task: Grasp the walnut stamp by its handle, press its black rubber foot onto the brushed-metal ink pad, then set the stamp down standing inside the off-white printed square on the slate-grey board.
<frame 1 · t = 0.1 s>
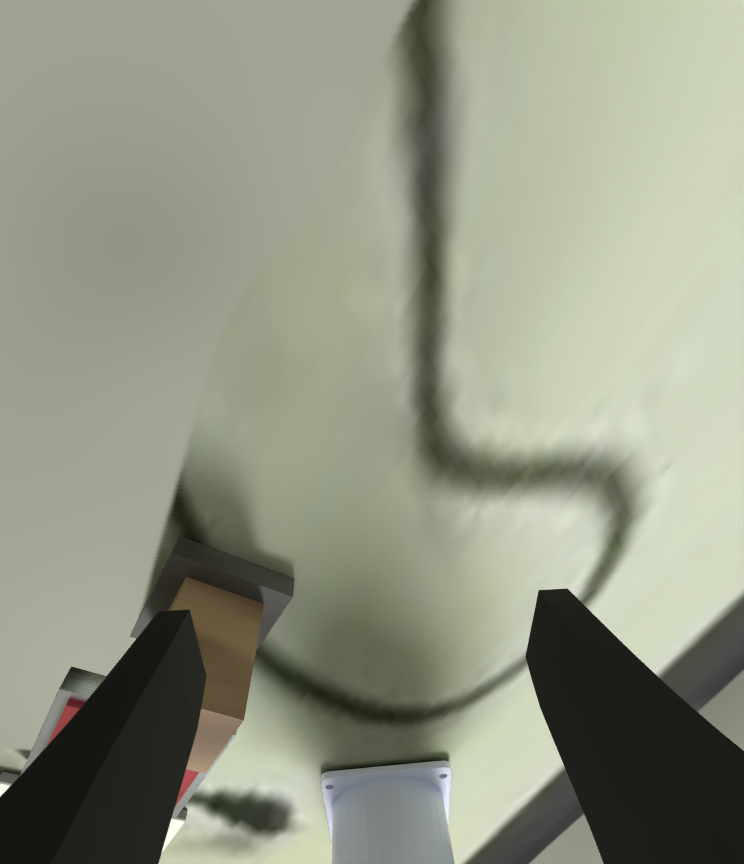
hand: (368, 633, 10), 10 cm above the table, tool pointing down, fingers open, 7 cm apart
marked square: (74, 834, 32), on the table
ink pad: (132, 737, 27), on the table
stamp: (216, 596, 23), on the table
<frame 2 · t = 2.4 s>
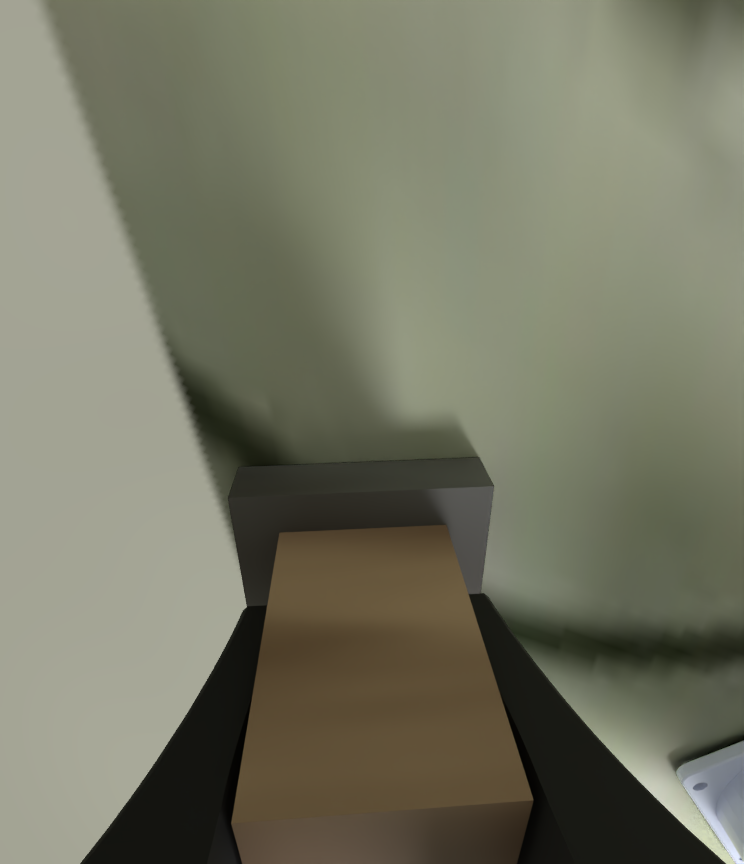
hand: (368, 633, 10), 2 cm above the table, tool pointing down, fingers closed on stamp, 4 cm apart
stamp: (362, 555, 12), on the table, touching gripper
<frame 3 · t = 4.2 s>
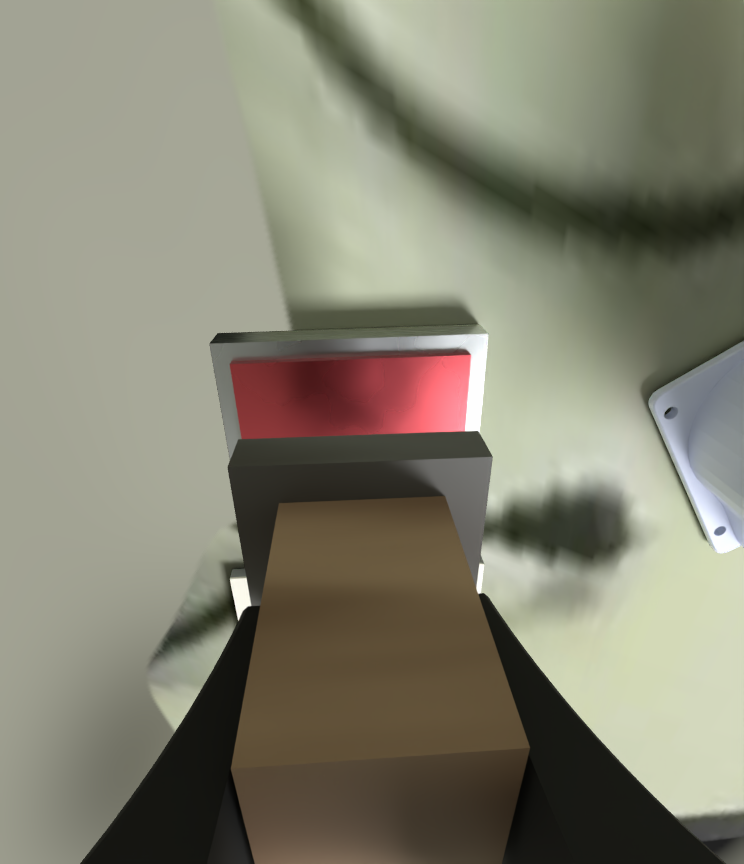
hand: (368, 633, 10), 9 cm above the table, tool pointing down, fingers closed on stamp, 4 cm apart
marked square: (361, 646, 24), on the table
ink pad: (354, 443, 19), on the table
stamp: (361, 530, 12), point 7 cm above the table, touching gripper
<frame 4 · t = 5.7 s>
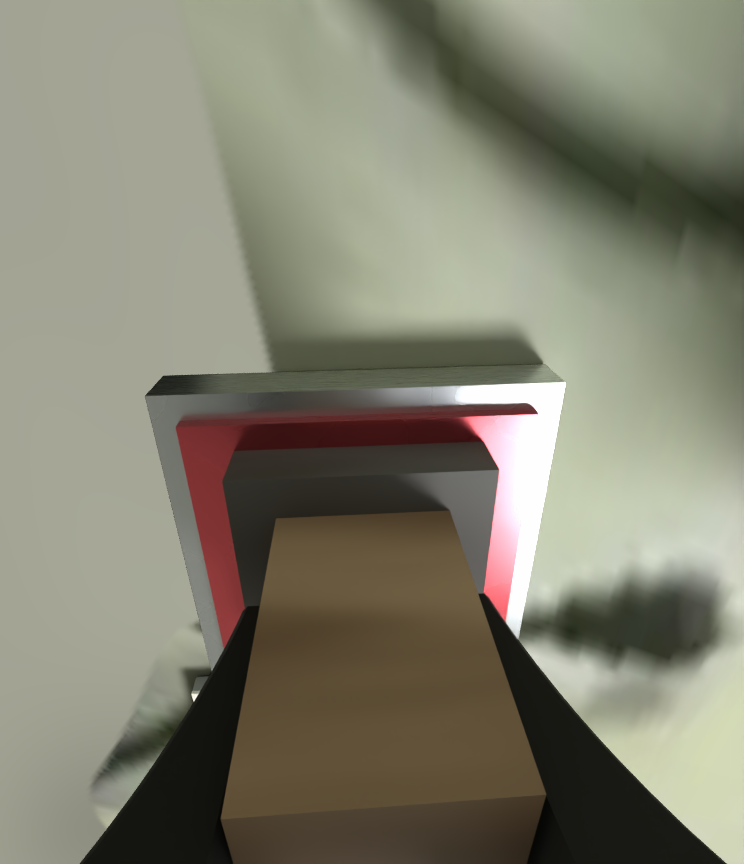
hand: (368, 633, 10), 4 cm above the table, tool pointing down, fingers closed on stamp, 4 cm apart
ink pad: (361, 523, 14), on the table
stamp: (362, 544, 12), point 1 cm above the table, touching gripper, ink pad
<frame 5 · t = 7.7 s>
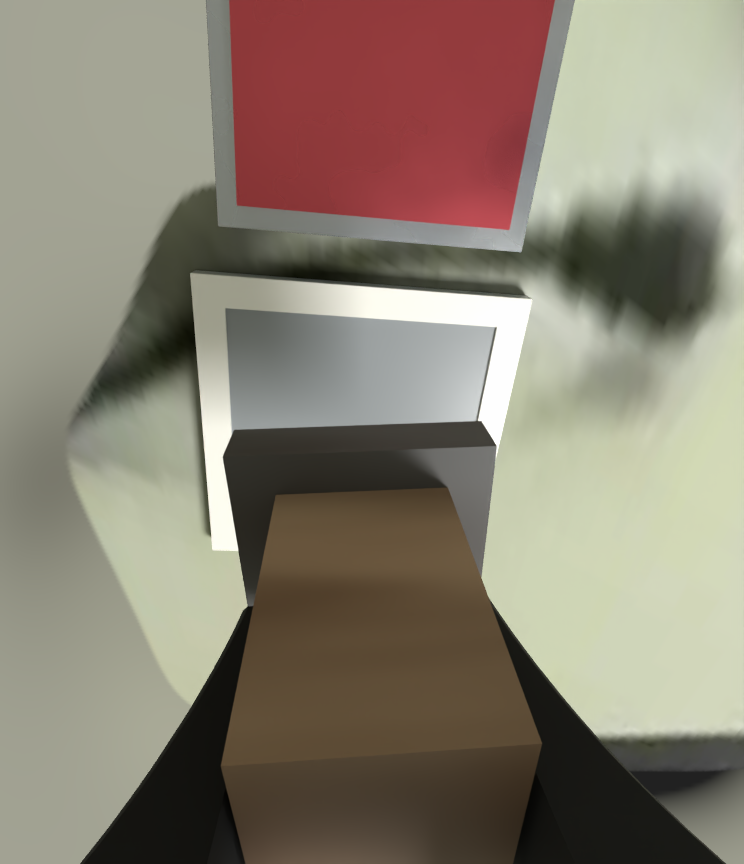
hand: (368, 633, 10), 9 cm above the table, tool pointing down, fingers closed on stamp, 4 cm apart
marked square: (354, 431, 19), on the table
ink pad: (385, 60, 13), on the table
stamp: (361, 525, 12), point 7 cm above the table, touching gripper
when the fingers open (4 cm above the table, at t = 9.4 s): stamp stays where it is, resting on marked square.
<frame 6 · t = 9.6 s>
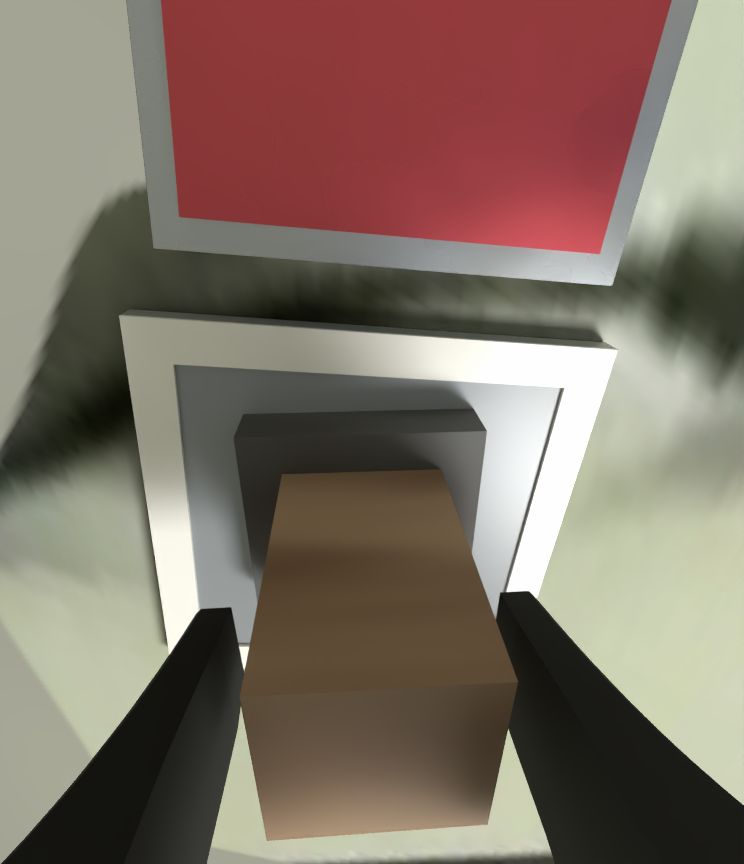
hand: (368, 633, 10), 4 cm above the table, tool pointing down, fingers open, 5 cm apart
marked square: (360, 519, 14), on the table
stamp: (360, 505, 13), resting on marked square
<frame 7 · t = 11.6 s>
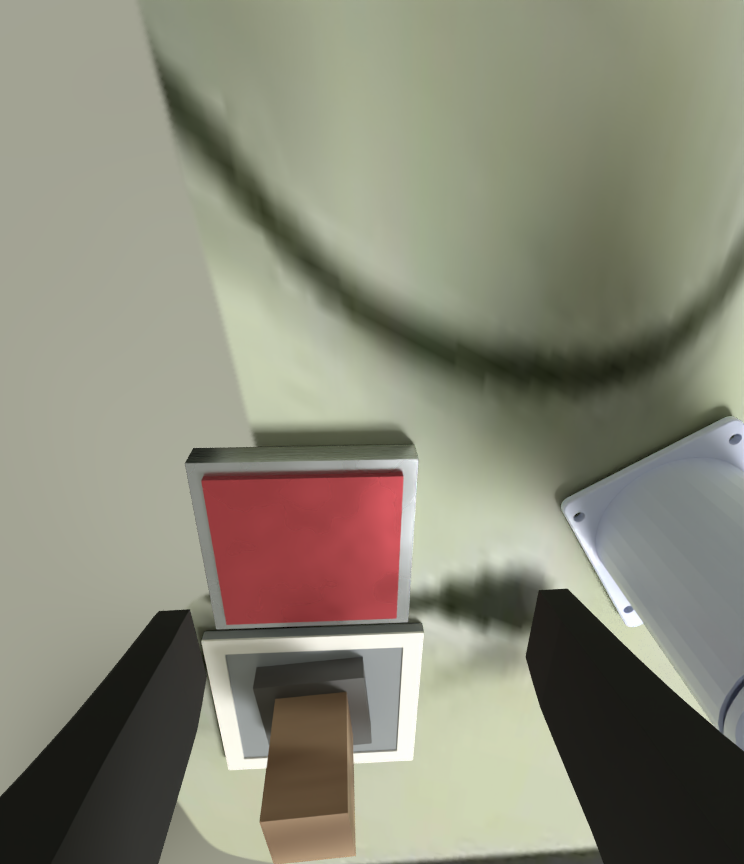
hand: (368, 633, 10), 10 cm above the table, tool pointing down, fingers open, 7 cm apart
marked square: (318, 696, 27), on the table
ink pad: (310, 533, 22), on the table
stamp: (316, 695, 26), resting on marked square
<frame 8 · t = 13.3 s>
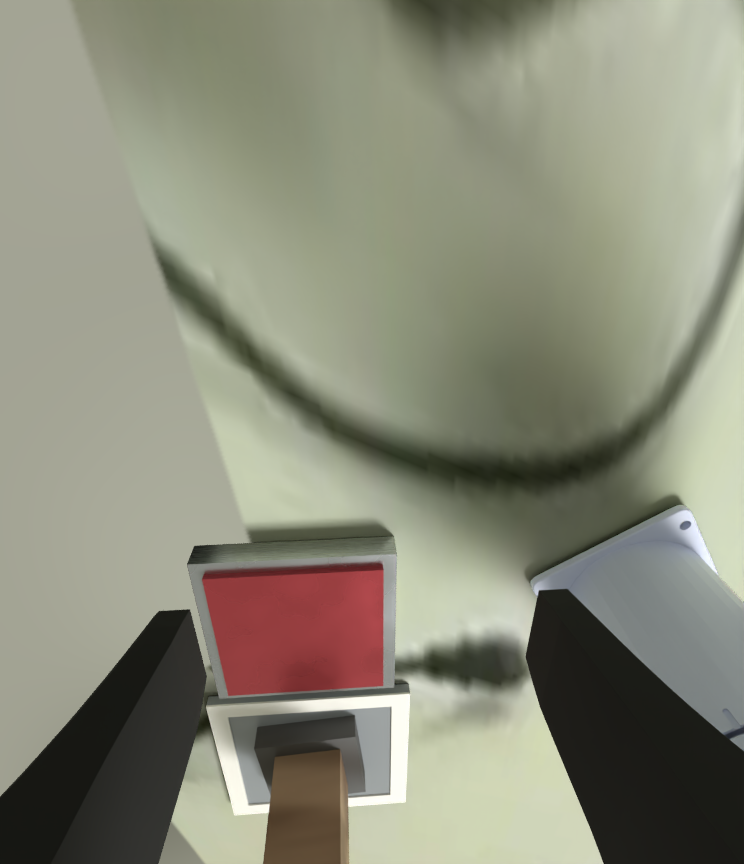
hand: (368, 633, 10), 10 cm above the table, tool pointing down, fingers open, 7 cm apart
marked square: (315, 748, 29), on the table
ink pad: (302, 612, 24), on the table
stamp: (313, 749, 29), resting on marked square
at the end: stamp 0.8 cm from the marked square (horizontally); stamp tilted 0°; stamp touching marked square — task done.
